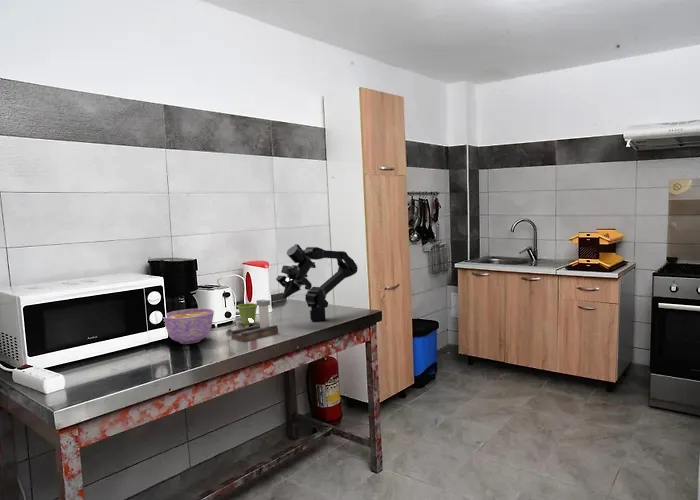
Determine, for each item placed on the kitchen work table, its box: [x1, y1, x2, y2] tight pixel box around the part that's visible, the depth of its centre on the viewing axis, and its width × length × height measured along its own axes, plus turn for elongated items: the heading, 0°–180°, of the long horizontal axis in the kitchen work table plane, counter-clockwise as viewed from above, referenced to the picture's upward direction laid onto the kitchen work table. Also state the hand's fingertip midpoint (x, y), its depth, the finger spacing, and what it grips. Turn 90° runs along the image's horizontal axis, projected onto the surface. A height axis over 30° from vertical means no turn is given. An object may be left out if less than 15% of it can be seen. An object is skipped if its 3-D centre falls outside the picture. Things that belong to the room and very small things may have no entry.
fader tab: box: [255, 299, 271, 328], centre depth 213 cm, size 3×5×12 cm, turn 46°
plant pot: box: [236, 302, 258, 326], centre depth 235 cm, size 9×9×9 cm
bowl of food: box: [162, 308, 215, 345], centre depth 205 cm, size 20×20×12 cm
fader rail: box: [230, 324, 279, 342], centre depth 209 cm, size 17×9×3 cm, turn 136°
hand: (283, 297), depth 220 cm, fingers closed
